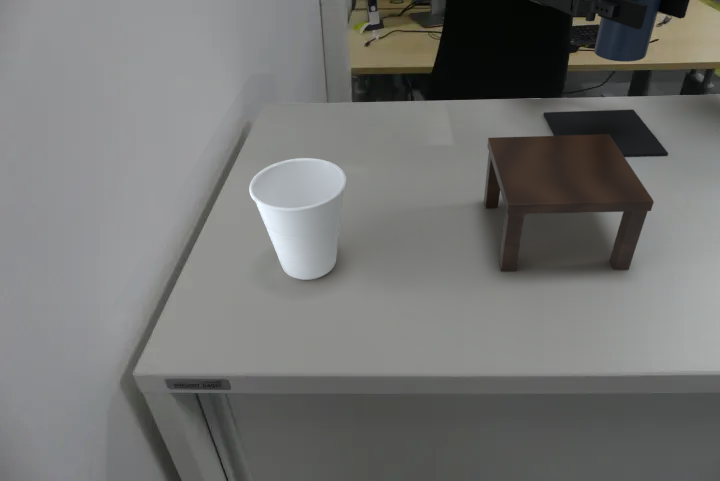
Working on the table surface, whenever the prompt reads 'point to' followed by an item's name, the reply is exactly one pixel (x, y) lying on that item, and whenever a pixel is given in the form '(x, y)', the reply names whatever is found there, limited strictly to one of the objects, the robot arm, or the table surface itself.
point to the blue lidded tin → (626, 36)
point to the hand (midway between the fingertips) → (664, 11)
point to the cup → (301, 213)
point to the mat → (609, 129)
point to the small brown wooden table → (564, 187)
